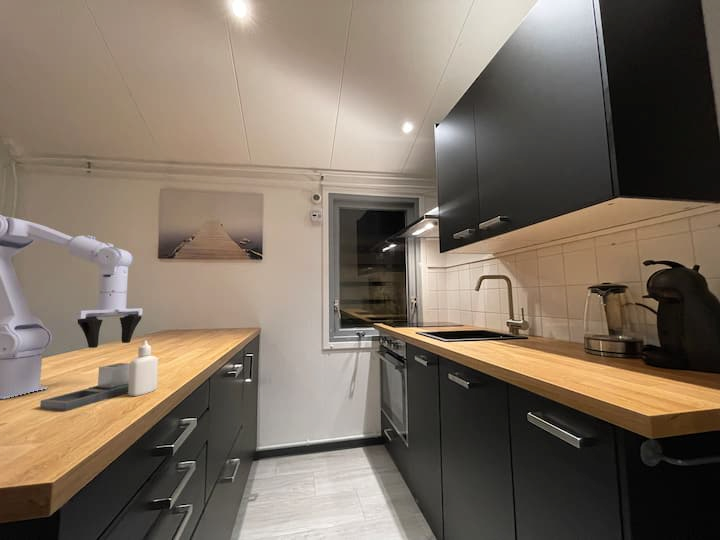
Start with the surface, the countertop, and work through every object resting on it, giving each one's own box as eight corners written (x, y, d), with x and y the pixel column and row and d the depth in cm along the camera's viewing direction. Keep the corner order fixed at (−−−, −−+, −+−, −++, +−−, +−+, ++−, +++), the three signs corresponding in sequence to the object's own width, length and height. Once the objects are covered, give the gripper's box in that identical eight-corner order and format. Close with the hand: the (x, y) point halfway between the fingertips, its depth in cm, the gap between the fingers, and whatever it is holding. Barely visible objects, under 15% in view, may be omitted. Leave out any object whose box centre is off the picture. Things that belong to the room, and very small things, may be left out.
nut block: (97, 393, 67) (98, 366, 68) (118, 387, 71) (119, 362, 72) (110, 394, 66) (112, 367, 66) (131, 388, 70) (132, 363, 71)
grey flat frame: (40, 408, 59) (40, 399, 59) (119, 386, 73) (119, 379, 74) (65, 411, 57) (66, 402, 57) (142, 388, 71) (142, 381, 71)
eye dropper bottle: (126, 393, 67) (129, 341, 68) (155, 388, 71) (157, 338, 72) (129, 398, 64) (131, 343, 65) (159, 391, 68) (161, 340, 69)
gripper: (90, 291, 68) (87, 350, 67) (151, 292, 82) (149, 341, 80) (71, 292, 70) (67, 349, 69) (133, 293, 84) (131, 340, 82)
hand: (110, 345), depth 75 cm, fingers open, 7 cm apart
